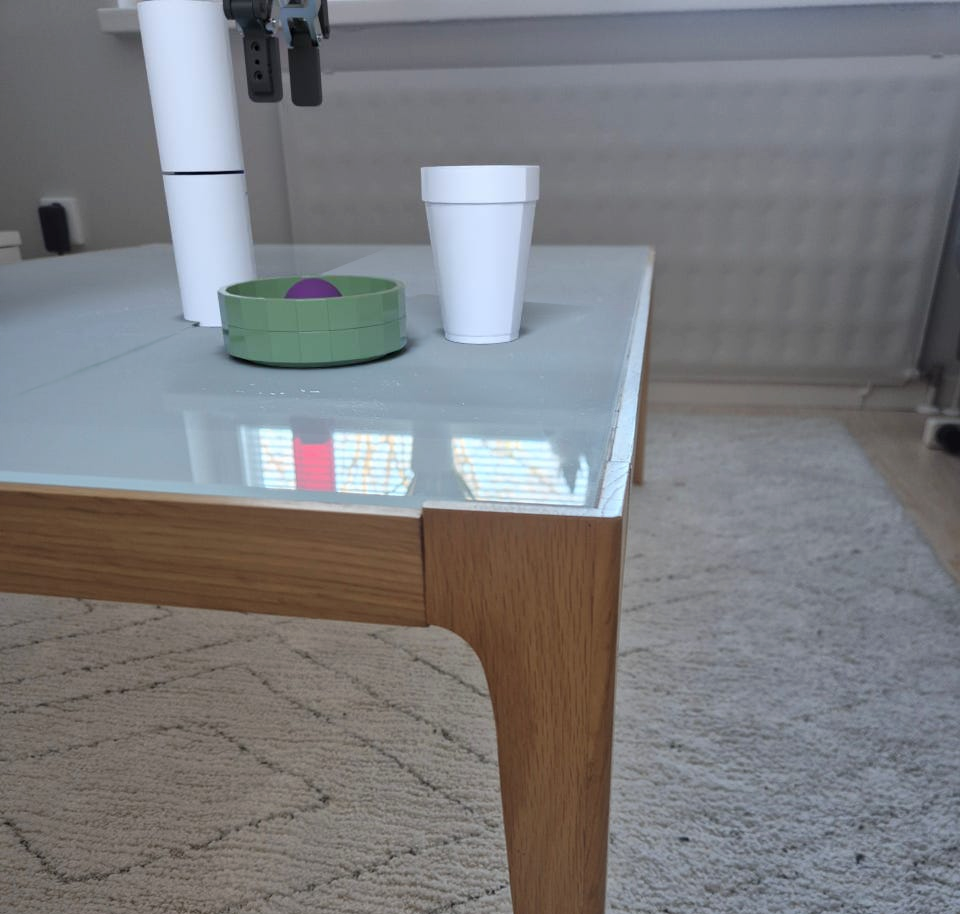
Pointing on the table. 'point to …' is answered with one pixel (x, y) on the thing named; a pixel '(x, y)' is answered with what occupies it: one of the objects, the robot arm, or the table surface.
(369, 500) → the table surface
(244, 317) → the bowl
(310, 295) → the ball
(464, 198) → the foam cup
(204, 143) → the cylindrical container
